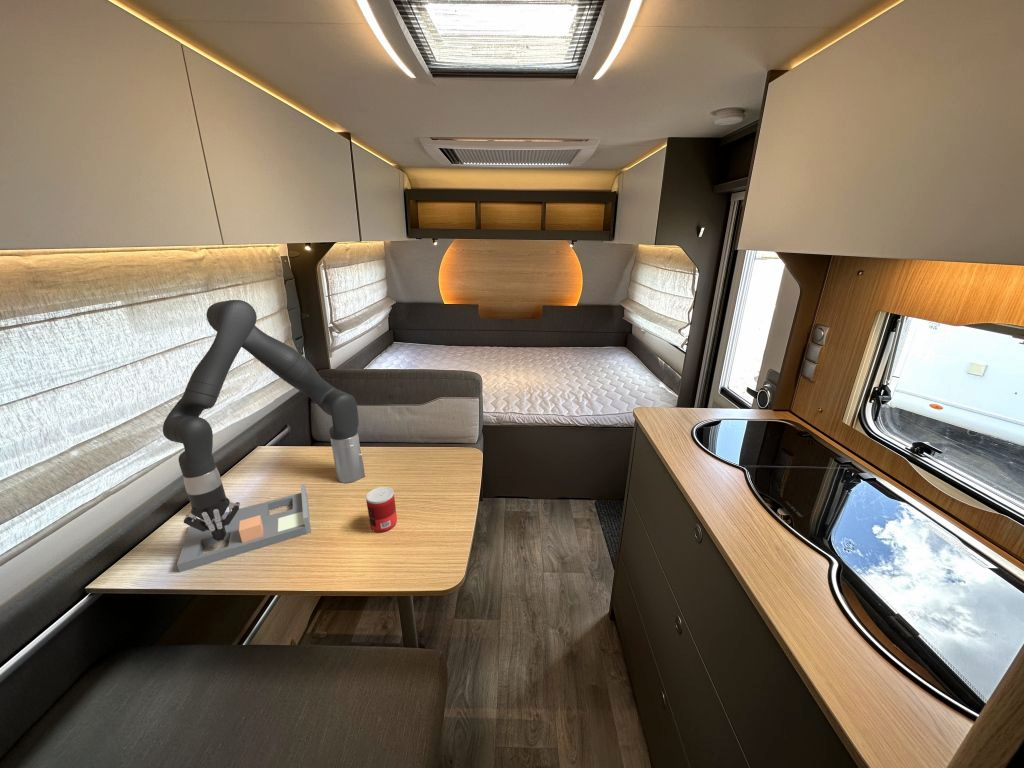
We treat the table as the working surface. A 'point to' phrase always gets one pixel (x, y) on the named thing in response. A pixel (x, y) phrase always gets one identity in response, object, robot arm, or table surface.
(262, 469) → the table surface
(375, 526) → the canned food
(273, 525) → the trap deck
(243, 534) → the block
